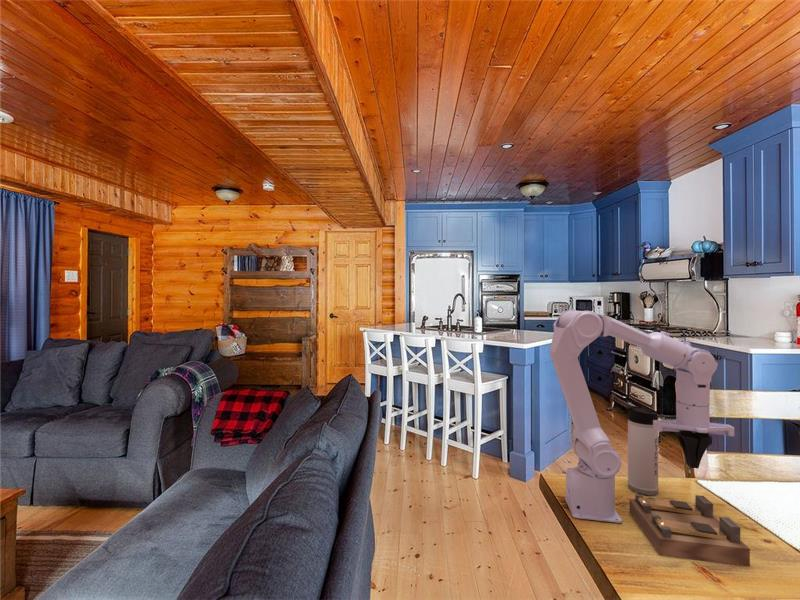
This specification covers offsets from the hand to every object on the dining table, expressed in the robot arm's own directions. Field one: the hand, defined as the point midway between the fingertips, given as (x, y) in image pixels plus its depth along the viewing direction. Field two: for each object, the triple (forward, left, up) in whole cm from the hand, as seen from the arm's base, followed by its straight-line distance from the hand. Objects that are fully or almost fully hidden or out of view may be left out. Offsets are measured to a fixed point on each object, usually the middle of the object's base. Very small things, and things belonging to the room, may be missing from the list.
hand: (692, 466), depth 82 cm
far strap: (-7, -5, -7) cm, 11 cm away
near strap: (-7, -13, -7) cm, 16 cm away
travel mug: (-6, +10, -11) cm, 16 cm away
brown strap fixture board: (-6, -9, -10) cm, 15 cm away
